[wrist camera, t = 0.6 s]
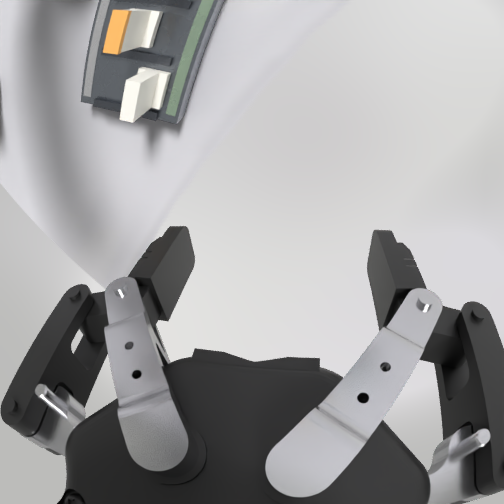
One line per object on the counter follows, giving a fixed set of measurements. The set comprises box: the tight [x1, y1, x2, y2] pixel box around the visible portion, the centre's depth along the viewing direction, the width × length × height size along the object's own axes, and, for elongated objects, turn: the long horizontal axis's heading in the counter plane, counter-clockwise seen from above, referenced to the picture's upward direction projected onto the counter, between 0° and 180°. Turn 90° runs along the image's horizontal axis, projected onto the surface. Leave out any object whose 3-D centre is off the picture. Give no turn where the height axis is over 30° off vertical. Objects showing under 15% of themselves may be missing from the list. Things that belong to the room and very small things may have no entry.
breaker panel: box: [81, 0, 224, 124], centre depth 22 cm, size 14×22×4 cm, turn 159°
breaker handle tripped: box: [103, 8, 163, 54], centre depth 19 cm, size 4×4×6 cm
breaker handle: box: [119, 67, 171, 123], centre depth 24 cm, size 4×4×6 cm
